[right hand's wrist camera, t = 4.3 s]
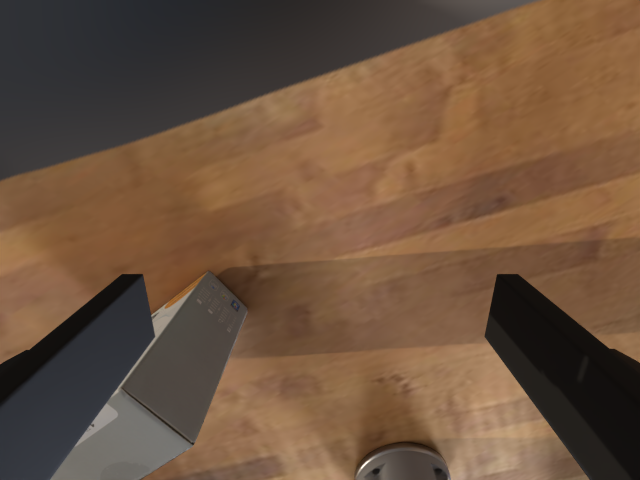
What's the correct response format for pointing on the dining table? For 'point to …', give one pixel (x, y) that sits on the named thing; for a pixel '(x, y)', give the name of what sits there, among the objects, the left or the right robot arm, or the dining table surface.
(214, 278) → the hard drive box
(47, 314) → the dining table surface
